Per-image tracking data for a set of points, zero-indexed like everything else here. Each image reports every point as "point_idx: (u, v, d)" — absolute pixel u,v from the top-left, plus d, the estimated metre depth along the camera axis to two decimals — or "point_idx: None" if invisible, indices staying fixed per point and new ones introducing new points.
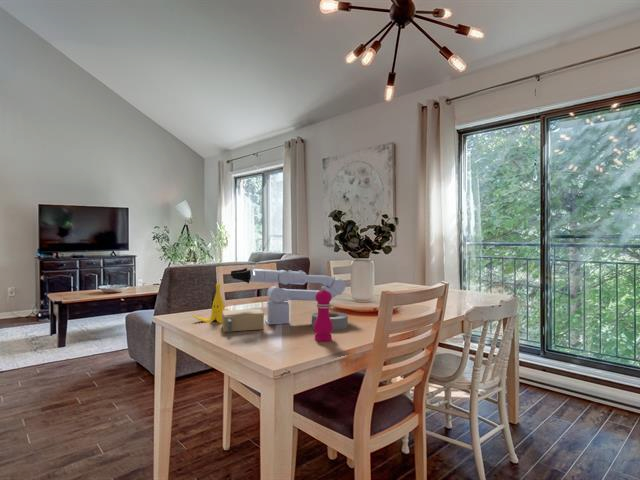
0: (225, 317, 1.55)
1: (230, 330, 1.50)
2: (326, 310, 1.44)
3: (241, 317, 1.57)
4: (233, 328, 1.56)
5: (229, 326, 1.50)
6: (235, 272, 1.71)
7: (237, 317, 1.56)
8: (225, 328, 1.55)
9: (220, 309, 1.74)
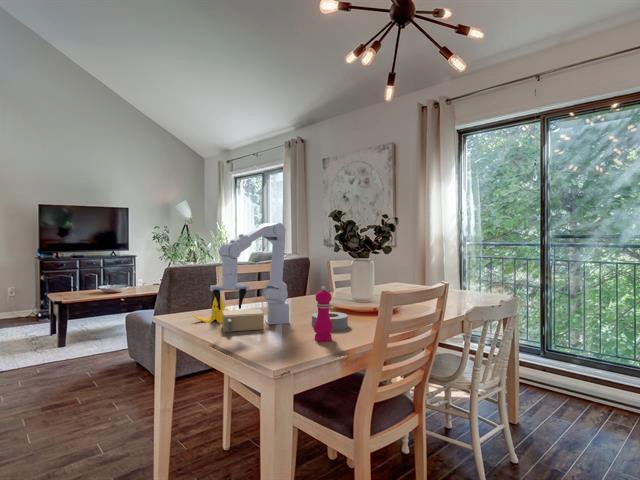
0: (225, 317, 1.55)
1: (230, 330, 1.50)
2: (326, 310, 1.44)
3: (241, 317, 1.57)
4: (233, 328, 1.56)
5: (229, 326, 1.50)
6: None
7: (237, 317, 1.56)
8: (225, 328, 1.55)
9: None
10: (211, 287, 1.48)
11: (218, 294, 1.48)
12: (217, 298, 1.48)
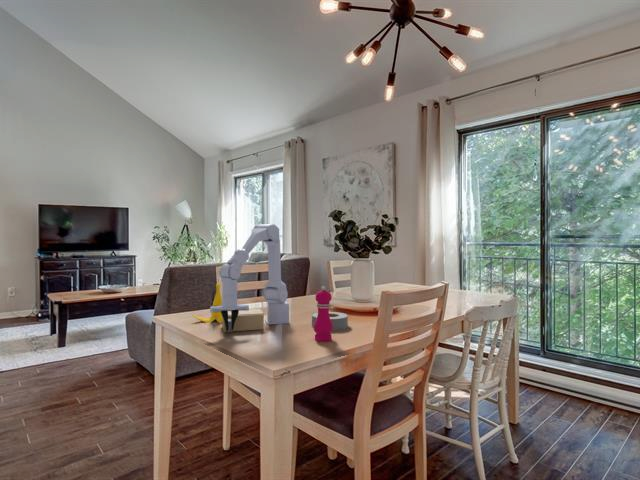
0: None
1: (230, 330, 1.50)
2: (326, 310, 1.44)
3: (241, 317, 1.57)
4: (233, 328, 1.56)
5: (229, 326, 1.50)
6: None
7: (237, 317, 1.56)
8: (225, 328, 1.55)
9: None
10: (211, 308, 1.49)
11: (226, 315, 1.49)
12: (225, 319, 1.49)
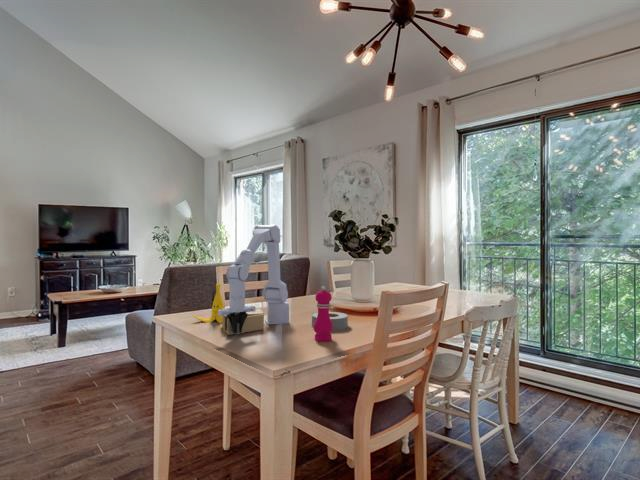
0: (228, 320, 1.51)
1: (238, 332, 1.47)
2: (326, 310, 1.44)
3: None
4: None
5: (237, 328, 1.47)
6: None
7: None
8: (228, 331, 1.51)
9: (220, 309, 1.74)
10: (221, 312, 1.42)
11: (236, 317, 1.45)
12: (234, 321, 1.45)
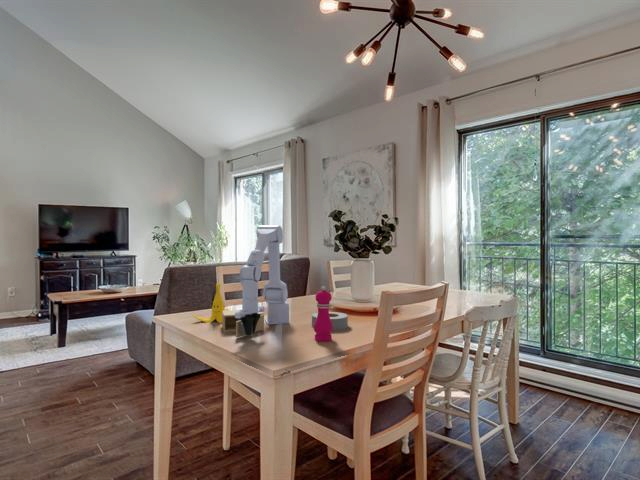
0: (237, 322, 1.47)
1: (251, 334, 1.45)
2: (326, 310, 1.44)
3: None
4: None
5: None
6: None
7: None
8: (238, 334, 1.47)
9: (220, 309, 1.74)
10: (239, 314, 1.39)
11: (252, 319, 1.43)
12: (250, 323, 1.43)
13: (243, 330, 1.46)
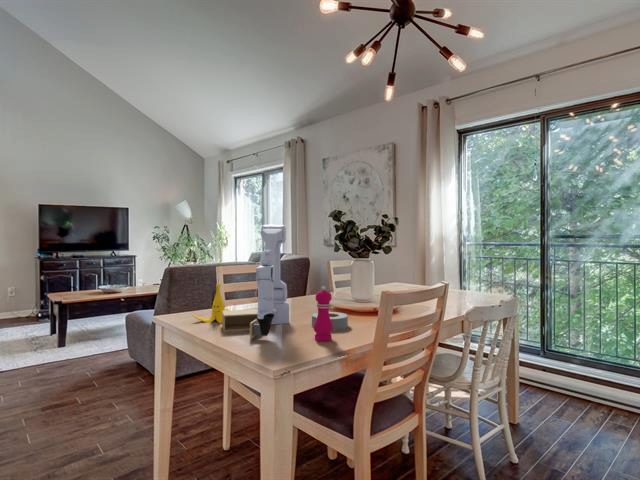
0: (251, 323, 1.45)
1: None
2: (326, 310, 1.44)
3: (257, 321, 1.51)
4: None
5: None
6: None
7: (256, 321, 1.49)
8: (251, 335, 1.45)
9: (220, 309, 1.74)
10: (263, 314, 1.38)
11: (271, 318, 1.43)
12: (269, 323, 1.43)
13: (257, 331, 1.45)
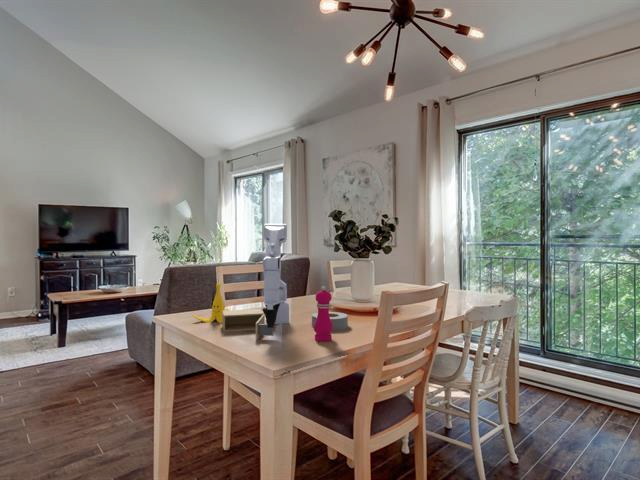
0: (257, 324, 1.44)
1: (272, 333, 1.46)
2: (326, 310, 1.44)
3: (260, 321, 1.51)
4: (259, 334, 1.48)
5: (272, 329, 1.46)
6: None
7: (259, 321, 1.49)
8: (257, 335, 1.45)
9: (220, 309, 1.74)
10: (272, 305, 1.39)
11: (277, 310, 1.42)
12: (275, 315, 1.41)
13: (263, 331, 1.45)
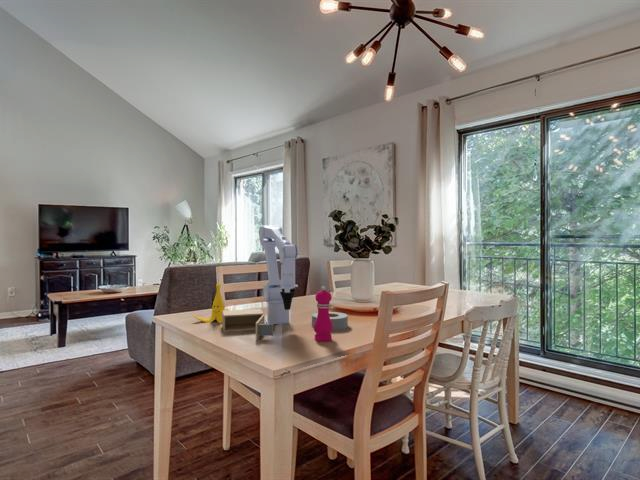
0: (257, 324, 1.44)
1: (272, 333, 1.46)
2: (326, 310, 1.44)
3: (260, 321, 1.51)
4: (259, 334, 1.48)
5: (272, 329, 1.46)
6: None
7: (259, 321, 1.49)
8: (257, 335, 1.45)
9: (220, 309, 1.74)
10: (289, 288, 1.51)
11: None
12: None
13: (263, 331, 1.45)
